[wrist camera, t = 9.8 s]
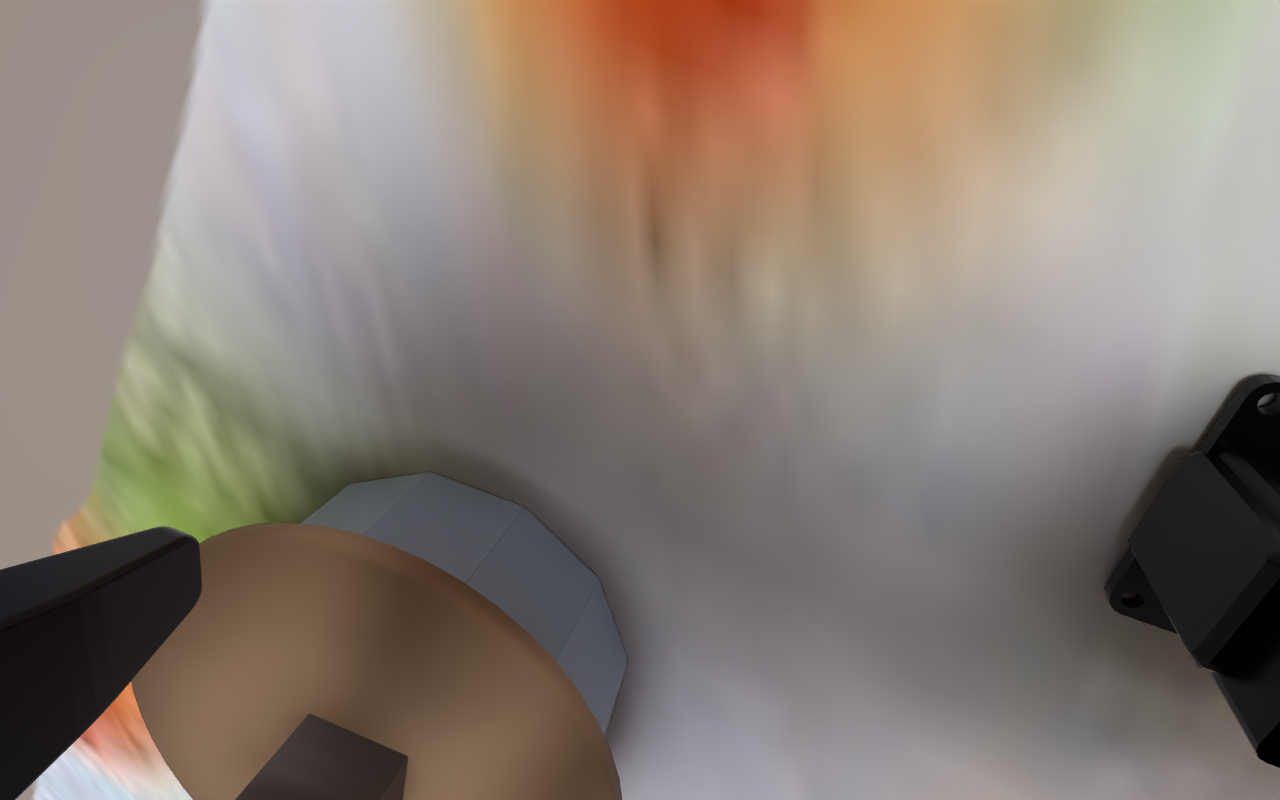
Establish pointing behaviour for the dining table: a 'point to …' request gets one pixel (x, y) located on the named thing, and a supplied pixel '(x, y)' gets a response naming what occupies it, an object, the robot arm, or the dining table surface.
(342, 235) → the dining table surface
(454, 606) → the walnut lid
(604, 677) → the slate bowl
